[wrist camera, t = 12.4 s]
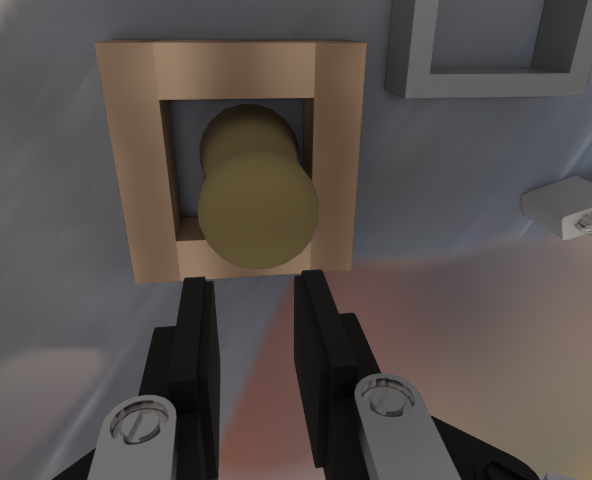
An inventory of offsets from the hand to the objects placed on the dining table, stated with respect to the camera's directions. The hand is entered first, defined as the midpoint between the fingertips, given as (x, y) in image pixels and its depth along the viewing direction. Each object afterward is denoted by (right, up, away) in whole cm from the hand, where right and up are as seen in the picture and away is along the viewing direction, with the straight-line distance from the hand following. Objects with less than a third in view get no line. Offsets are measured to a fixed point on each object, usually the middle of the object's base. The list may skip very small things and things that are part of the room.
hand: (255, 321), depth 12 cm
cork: (-2, +8, +16) cm, 17 cm away
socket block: (-2, +7, +15) cm, 17 cm away
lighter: (+20, +6, +20) cm, 29 cm away
